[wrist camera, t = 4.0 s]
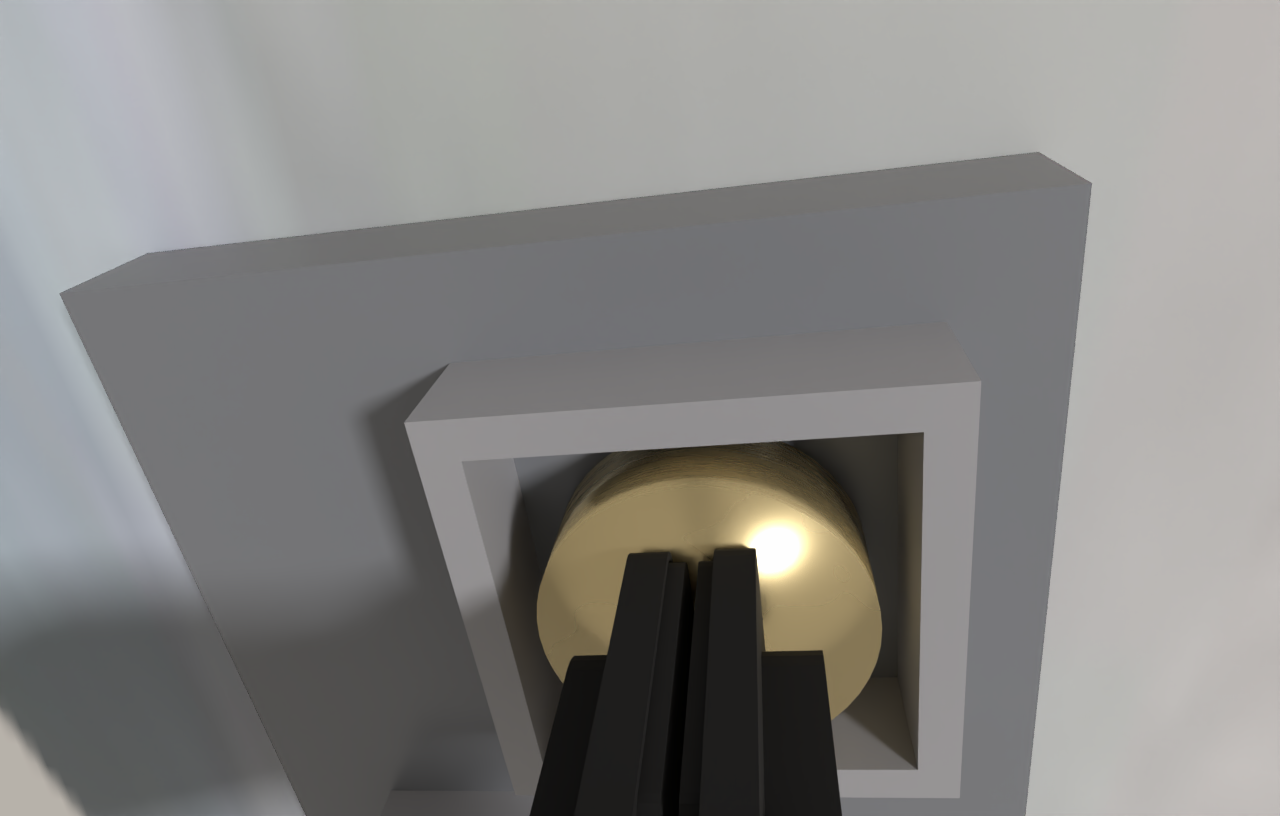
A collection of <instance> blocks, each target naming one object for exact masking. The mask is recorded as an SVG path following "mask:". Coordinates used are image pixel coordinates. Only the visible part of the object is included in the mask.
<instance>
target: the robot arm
mask: <svg viewBox="0 0 1280 816" xmlns="http://www.w3.org/2000/svg"><path fill="white" fill-rule="evenodd" d="M529 816H842V810H841V801H840V792H839V784H838V775H837V766H836V758H835V749H834V740H833V732H832V723H831V714H830V706H829V697H828V688H827V680H826V671H825V663H824V655H823V650H809V651H766V650H765V639H764V628H763V617H762V606H761V595H760V584H759V573H758V562H757V553H756V548H739V549H715V550H714V556H713V561H699V563H698V571H697V583H696V596H695V608H694V606H693V599H692V592H691V585H690V577H689V570H688V565H687V563H686V562H673V559H672V555H671V553H670V552H669V551H668V552H645V553H629V554H628V557H627V560H626V565H625V570H624V575H623V580H622V585H621V589H620V594H619V599H618V604H617V609H616V614H615V619H614V624H613V629H612V633H611V638H610V643H609V648H608V653H607V655H582V656H573V658H572V659H571V660H570V663H569V666H568V668H567V672H566V676H565V680H564V683H563V687H562V691H561V695H560V699H559V703H558V707H557V711H556V714H555V718H554V722H553V726H552V730H551V734H550V738H549V741H548V745H547V749H546V753H545V757H544V761H543V765H542V769H541V772H540V776H539V780H538V784H537V788H536V792H535V796H534V800H533V803H532V807H531V811H530V815H529Z"/></svg>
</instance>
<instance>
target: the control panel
mask: <svg viewBox="0 0 1280 816" xmlns="http://www.w3.org/2000/svg"><path fill="white" fill-rule="evenodd" d="M1091 187H1092V183H1091V182H1089V181H1087V180H1085V179H1084V178H1082V177H1080V176H1079V175H1077V174H1075V173H1074V172H1072V171H1070V170H1068V169H1067V168H1065V167H1063V166H1062V165H1060V164H1058V163H1056V162H1055V161H1053V160H1051V159H1050V158H1048V157H1046V156H1045V155H1043V154H1041V153H1039V152H1035V153H1027V154H1018V155H1009V156H1000V157H991V158H982V159H974V160H965V161H956V162H947V163H938V164H930V165H921V166H912V167H903V168H894V169H886V170H877V171H868V172H859V173H850V174H842V175H833V176H824V177H815V178H806V179H798V180H789V181H780V182H771V183H762V184H753V185H745V186H736V187H727V188H718V189H709V190H701V191H692V192H683V193H674V194H665V195H657V196H648V197H639V198H630V199H621V200H613V201H604V202H595V203H586V204H577V205H569V206H560V207H551V208H542V209H533V210H524V211H516V212H507V213H498V214H489V215H480V216H472V217H463V218H454V219H445V220H436V221H428V222H419V223H410V224H401V225H392V226H384V227H375V228H366V229H357V230H348V231H340V232H331V233H322V234H313V235H304V236H295V237H287V238H278V239H269V240H260V241H251V242H243V243H234V244H225V245H216V246H207V247H199V248H190V249H181V250H172V251H163V252H155V253H147V254H145V255H143V256H140V257H138V258H136V259H134V260H132V261H129V262H127V263H125V264H123V265H121V266H119V267H116V268H114V269H112V270H110V271H108V272H105V273H103V274H101V275H99V276H97V277H94V278H92V279H90V280H88V281H86V282H83V283H81V284H79V285H77V286H75V287H72V288H70V289H68V290H66V291H64V292H62V293H60V296H61V298H62V300H63V302H64V304H65V306H66V308H67V310H68V313H69V315H70V317H71V319H72V321H73V323H74V325H75V327H76V329H77V332H78V334H79V336H80V338H81V340H82V342H83V344H84V346H85V349H86V351H87V353H88V355H89V357H90V359H91V361H92V363H93V365H94V368H95V370H96V372H97V374H98V376H99V378H100V380H101V382H102V385H103V387H104V389H105V391H106V393H107V395H108V397H109V399H110V402H111V404H112V406H113V408H114V410H115V412H116V414H117V416H118V418H119V421H120V423H121V425H122V427H123V429H124V431H125V433H126V435H127V438H128V440H129V442H130V444H131V446H132V448H133V450H134V452H135V454H136V457H137V459H138V461H139V463H140V465H141V467H142V469H143V471H144V474H145V476H146V478H147V480H148V482H149V484H150V486H151V488H152V490H153V493H154V495H155V497H156V499H157V501H158V503H159V505H160V507H161V510H162V512H163V514H164V516H165V518H166V520H167V522H168V524H169V526H170V529H171V531H172V533H173V535H174V537H175V539H176V541H177V543H178V546H179V548H180V550H181V552H182V554H183V556H184V558H185V560H186V562H187V565H188V567H189V569H190V571H191V573H192V575H193V577H194V579H195V582H196V584H197V586H198V588H199V590H200V592H201V594H202V596H203V598H204V601H205V603H206V605H207V607H208V609H209V611H210V613H211V615H212V618H213V620H214V622H215V624H216V626H217V628H218V630H219V632H220V634H221V637H222V639H223V641H224V643H225V645H226V647H227V649H228V651H229V654H230V656H231V658H232V660H233V662H234V664H235V666H236V668H237V670H238V673H239V675H240V677H241V679H242V681H243V683H244V685H245V687H246V690H247V692H248V694H249V696H250V698H251V700H252V702H253V704H254V706H255V709H256V711H257V713H258V715H259V717H260V719H261V721H262V723H263V726H264V728H265V730H266V732H267V734H268V736H269V738H270V740H271V742H272V745H273V747H274V749H275V751H276V753H277V755H278V757H279V759H280V762H281V764H282V766H283V768H284V770H285V772H286V774H287V776H288V779H289V781H290V783H291V785H292V787H293V789H294V791H295V793H296V795H297V798H298V800H299V802H300V804H301V806H302V808H303V810H304V812H305V815H306V816H529V815H530V811H531V807H532V803H533V800H534V796H535V792H536V788H537V784H538V780H539V776H540V772H541V769H542V765H543V761H544V757H545V753H546V749H547V745H548V741H549V738H550V734H551V730H552V726H553V722H554V718H555V714H556V711H557V707H558V703H559V699H560V695H561V691H562V687H563V683H562V682H561V680H560V679H559V677H558V676H557V674H556V673H555V672H554V670H553V668H552V666H551V664H550V663H549V661H548V659H547V657H546V655H545V652H544V649H543V646H542V643H541V640H540V637H539V631H538V625H537V599H538V593H539V588H540V584H541V581H542V578H543V575H544V572H545V569H546V567H547V564H548V561H549V558H550V555H551V552H552V549H553V546H554V543H555V540H556V537H557V534H558V531H559V528H560V525H561V522H562V519H563V517H564V514H565V511H566V508H567V505H568V502H569V500H570V499H571V497H572V495H573V493H574V491H575V489H576V488H577V486H578V485H579V484H580V482H581V481H582V480H583V478H584V477H585V476H586V474H587V473H588V472H589V471H590V470H591V469H592V468H593V467H595V466H596V465H597V464H598V463H599V462H600V461H601V460H602V459H604V458H605V457H606V456H608V455H609V454H611V453H612V452H617V451H633V450H648V449H664V448H680V447H696V446H712V445H728V444H744V443H760V442H776V441H782V442H784V443H786V444H789V445H791V446H793V447H795V448H797V449H798V450H800V451H801V452H803V453H805V454H806V455H808V456H809V457H811V458H812V459H814V460H815V461H816V462H817V463H819V464H820V465H821V466H822V467H823V468H824V469H826V470H827V471H828V472H829V473H830V474H831V475H832V476H833V477H834V478H835V480H836V481H837V482H838V483H839V484H840V485H841V486H842V488H843V489H844V491H845V492H846V494H847V495H848V497H849V498H850V500H851V501H852V503H853V505H854V507H855V509H856V512H857V514H858V516H859V518H860V521H861V525H862V528H863V532H864V536H865V540H866V545H867V550H868V554H869V559H870V564H871V568H872V573H873V578H874V582H875V587H876V592H877V596H878V601H879V606H880V610H881V621H882V638H881V647H880V651H879V655H878V659H877V663H876V665H875V667H874V669H873V672H872V674H871V676H870V678H869V680H868V682H867V683H866V685H865V686H864V688H863V689H862V691H861V692H860V694H859V695H858V696H857V697H856V698H855V699H854V700H853V702H852V703H851V704H850V705H849V706H848V707H847V708H846V709H845V710H844V711H842V712H841V713H840V714H839V715H838V716H836V717H835V718H834V719H833V720H831V723H832V732H833V740H834V749H835V758H836V766H837V775H838V784H839V792H840V801H841V810H842V816H1025V814H1026V804H1027V795H1028V785H1029V776H1030V766H1031V757H1032V747H1033V738H1034V728H1035V719H1036V709H1037V700H1038V690H1039V681H1040V671H1041V662H1042V652H1043V643H1044V633H1045V624H1046V614H1047V605H1048V595H1049V586H1050V576H1051V567H1052V557H1053V548H1054V538H1055V529H1056V519H1057V510H1058V500H1059V491H1060V481H1061V472H1062V462H1063V453H1064V443H1065V434H1066V424H1067V415H1068V405H1069V396H1070V386H1071V377H1072V367H1073V358H1074V348H1075V339H1076V329H1077V320H1078V310H1079V301H1080V291H1081V282H1082V272H1083V263H1084V253H1085V244H1086V234H1087V225H1088V215H1089V206H1090V196H1091Z"/></svg>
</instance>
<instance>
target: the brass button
mask: <svg viewBox="0 0 1280 816" xmlns="http://www.w3.org/2000/svg"><path fill="white" fill-rule="evenodd" d="M739 548H756V553H757V562H758V573H759V584H760V595H761V606H762V617H763V628H764V639H765V650H766V651H809V650H823V655H824V663H825V671H826V680H827V688H828V697H829V706H830V714H831V720H833V719H834V718H835V717H836V716H838V715H839V714H840V713H841V712H842V711H844V710H845V709H846V708H847V707H848V706H849V705H850V704H851V703H852V702H853V700H854V699H855V698H856V697H857V696H858V695H859V694H860V692H861V691H862V689H863V688H864V686H865V685H866V683H867V682H868V680H869V678H870V676H871V674H872V672H873V669H874V667H875V665H876V663H877V659H878V655H879V651H880V647H881V638H882V621H881V610H880V606H879V601H878V596H877V592H876V587H875V582H874V578H873V573H872V568H871V564H870V559H869V554H868V550H867V545H866V540H865V536H864V532H863V528H862V525H861V521H860V518H859V516H858V514H857V512H856V509H855V507H854V505H853V503H852V501H851V500H850V498H849V497H848V495H847V494H846V492H845V491H844V489H843V488H842V486H841V485H840V484H839V483H838V482H837V481H836V480H835V478H834V477H833V476H832V475H831V474H830V473H829V472H828V471H827V470H826V469H824V468H823V467H822V466H821V465H820V464H819V463H817V462H816V461H815V460H814V459H812V458H811V457H809V456H808V455H806V454H805V453H803V452H801V451H800V450H798V449H797V448H795V447H793V446H791V445H789V444H786V443H784V442H782V441H776V442H760V443H744V444H728V445H712V446H696V447H680V448H664V449H648V450H633V451H617V452H612V453H611V454H609V455H608V456H606V457H605V458H604V459H602V460H601V461H600V462H599V463H598V464H597V465H596V466H595V467H593V468H592V469H591V470H590V471H589V472H588V473H587V474H586V476H585V477H584V478H583V480H582V481H581V482H580V484H579V485H578V486H577V488H576V489H575V491H574V493H573V495H572V497H571V499H570V500H569V502H568V505H567V508H566V511H565V514H564V517H563V519H562V522H561V525H560V528H559V531H558V534H557V537H556V540H555V543H554V546H553V549H552V552H551V555H550V558H549V561H548V564H547V567H546V569H545V572H544V575H543V578H542V581H541V584H540V588H539V593H538V599H537V625H538V631H539V637H540V640H541V643H542V646H543V649H544V652H545V655H546V657H547V659H548V661H549V663H550V664H551V666H552V668H553V670H554V672H555V673H556V674H557V676H558V677H559V679H560V680H561V682H562V683H564V680H565V676H566V672H567V668H568V666H569V663H570V660H571V659H572V658H573V656H582V655H607V653H608V648H609V643H610V638H611V633H612V629H613V624H614V619H615V614H616V609H617V604H618V599H619V594H620V589H621V585H622V580H623V575H624V570H625V565H626V560H627V557H628V554H629V553H645V552H668V551H669V552H670V553H671V555H672V559H673V562H686V563H687V565H688V570H689V577H690V585H691V592H692V599H693V606H694V608H695V596H696V583H697V571H698V563H699V561H713V556H714V550H715V549H739Z"/></svg>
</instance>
